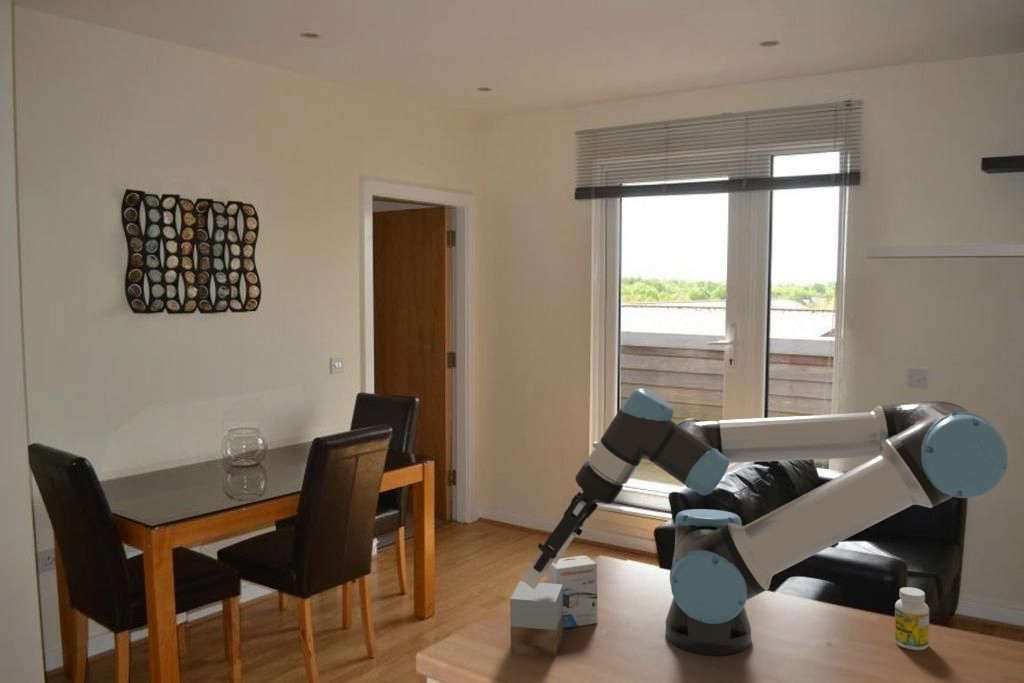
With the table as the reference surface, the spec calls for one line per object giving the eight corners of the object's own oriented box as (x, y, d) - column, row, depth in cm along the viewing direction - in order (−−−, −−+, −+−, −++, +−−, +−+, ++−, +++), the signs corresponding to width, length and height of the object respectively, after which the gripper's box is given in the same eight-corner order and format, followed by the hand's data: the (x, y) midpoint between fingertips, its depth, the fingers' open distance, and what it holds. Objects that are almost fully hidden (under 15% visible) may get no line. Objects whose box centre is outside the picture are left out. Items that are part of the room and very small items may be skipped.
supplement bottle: (935, 647, 140) (936, 594, 139) (913, 653, 138) (914, 599, 137) (909, 634, 145) (910, 583, 144) (887, 640, 143) (888, 588, 142)
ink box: (556, 630, 149) (555, 569, 148) (546, 619, 154) (545, 560, 153) (598, 623, 152) (598, 563, 151) (587, 613, 156) (587, 554, 155)
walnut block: (562, 637, 146) (562, 610, 146) (556, 658, 139) (555, 630, 138) (520, 633, 148) (519, 607, 148) (510, 654, 140) (510, 626, 140)
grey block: (563, 610, 146) (562, 584, 146) (555, 630, 138) (555, 602, 138) (520, 607, 148) (519, 581, 147) (510, 626, 140) (510, 598, 140)
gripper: (602, 447, 147) (541, 537, 151) (569, 473, 123) (498, 580, 127) (636, 471, 145) (574, 562, 149) (609, 503, 121) (536, 610, 125)
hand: (539, 571), depth 138 cm, fingers open, 13 cm apart
